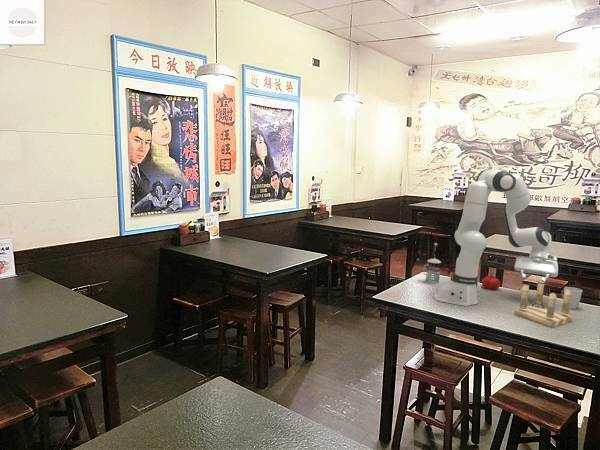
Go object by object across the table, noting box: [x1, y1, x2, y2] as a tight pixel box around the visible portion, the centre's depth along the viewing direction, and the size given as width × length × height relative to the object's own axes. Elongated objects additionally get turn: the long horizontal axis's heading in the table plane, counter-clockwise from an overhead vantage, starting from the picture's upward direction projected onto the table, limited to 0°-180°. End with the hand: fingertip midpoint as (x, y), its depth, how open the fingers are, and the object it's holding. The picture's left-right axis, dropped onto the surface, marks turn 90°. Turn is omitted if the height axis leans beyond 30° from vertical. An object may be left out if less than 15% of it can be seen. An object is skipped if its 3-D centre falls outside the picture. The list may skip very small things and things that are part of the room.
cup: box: [563, 286, 583, 310], centre depth 220 cm, size 8×8×10 cm
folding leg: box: [534, 280, 546, 305], centre depth 211 cm, size 3×3×12 cm
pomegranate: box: [481, 272, 501, 291], centre depth 249 cm, size 10×10×9 cm
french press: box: [422, 242, 442, 287], centre depth 253 cm, size 10×12×25 cm
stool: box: [513, 284, 574, 329], centre depth 203 cm, size 18×18×16 cm
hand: (533, 279), depth 219 cm, fingers open, 8 cm apart
